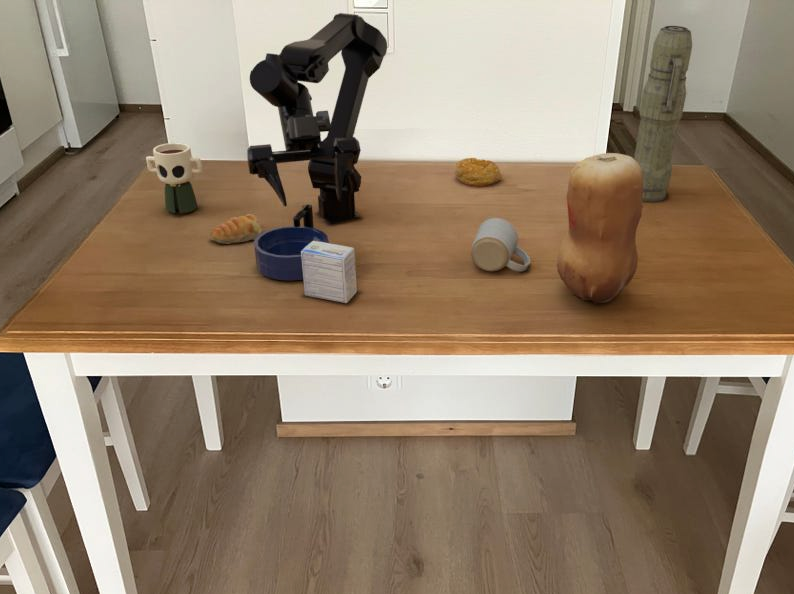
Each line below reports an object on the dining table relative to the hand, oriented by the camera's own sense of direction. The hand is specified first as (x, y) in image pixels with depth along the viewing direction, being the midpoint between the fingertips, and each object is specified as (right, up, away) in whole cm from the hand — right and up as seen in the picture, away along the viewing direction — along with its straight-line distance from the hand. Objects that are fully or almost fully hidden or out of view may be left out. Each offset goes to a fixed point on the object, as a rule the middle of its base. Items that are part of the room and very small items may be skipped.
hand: (312, 202), depth 131 cm
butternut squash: (+48, -16, +3) cm, 51 cm away
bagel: (+30, +15, +48) cm, 58 cm away
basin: (-5, -10, +10) cm, 15 cm away
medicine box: (+3, -16, +1) cm, 16 cm away
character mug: (-32, +4, +29) cm, 44 cm away
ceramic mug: (+32, -9, +12) cm, 36 cm away
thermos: (+67, +11, +43) cm, 81 cm away
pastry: (-18, -3, +19) cm, 26 cm away
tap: (-4, -6, +15) cm, 16 cm away
